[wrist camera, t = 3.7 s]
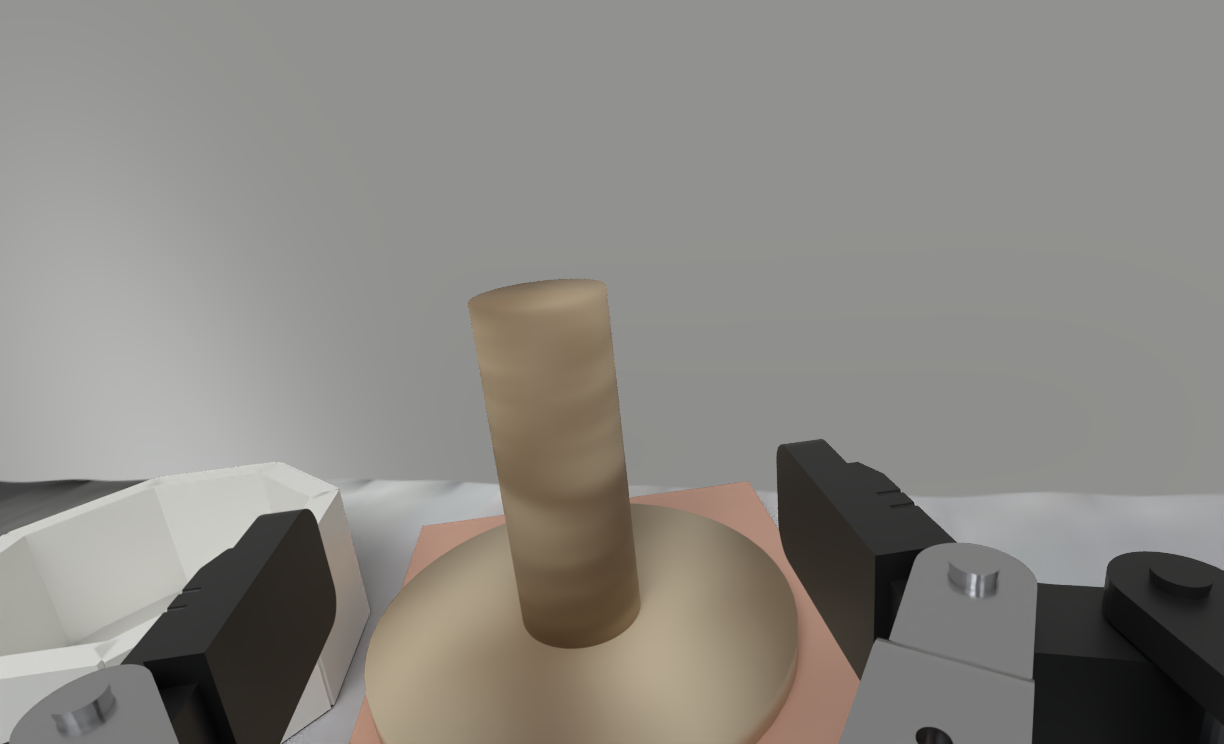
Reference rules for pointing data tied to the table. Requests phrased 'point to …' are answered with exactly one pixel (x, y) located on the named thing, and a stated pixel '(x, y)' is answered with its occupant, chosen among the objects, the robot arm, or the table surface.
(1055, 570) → the table surface
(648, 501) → the mat
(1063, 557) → the table surface
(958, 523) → the table surface
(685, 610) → the paper towel holder
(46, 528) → the bowl
